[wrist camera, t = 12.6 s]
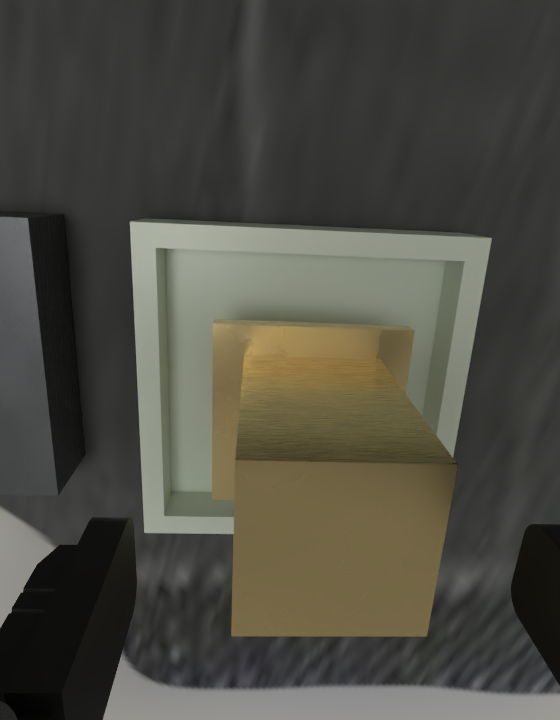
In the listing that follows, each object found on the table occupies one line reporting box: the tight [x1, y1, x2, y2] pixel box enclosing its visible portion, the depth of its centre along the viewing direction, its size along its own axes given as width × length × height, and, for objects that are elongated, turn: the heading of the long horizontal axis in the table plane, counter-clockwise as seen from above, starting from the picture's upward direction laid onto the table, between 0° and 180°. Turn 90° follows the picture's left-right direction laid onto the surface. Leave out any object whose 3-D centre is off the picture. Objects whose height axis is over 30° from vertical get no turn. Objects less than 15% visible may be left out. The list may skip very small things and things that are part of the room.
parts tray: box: [130, 218, 492, 534], centre depth 19 cm, size 12×12×2 cm
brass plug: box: [212, 319, 458, 636], centre depth 15 cm, size 6×6×10 cm
